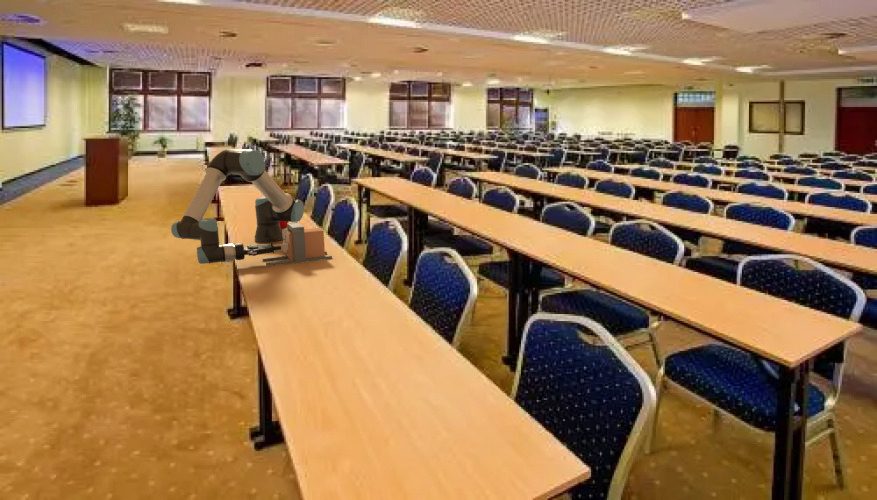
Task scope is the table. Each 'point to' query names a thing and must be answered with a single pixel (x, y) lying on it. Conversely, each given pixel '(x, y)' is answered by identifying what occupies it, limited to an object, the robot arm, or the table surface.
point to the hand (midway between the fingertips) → (287, 246)
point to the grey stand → (295, 247)
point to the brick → (308, 243)
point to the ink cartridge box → (284, 237)
